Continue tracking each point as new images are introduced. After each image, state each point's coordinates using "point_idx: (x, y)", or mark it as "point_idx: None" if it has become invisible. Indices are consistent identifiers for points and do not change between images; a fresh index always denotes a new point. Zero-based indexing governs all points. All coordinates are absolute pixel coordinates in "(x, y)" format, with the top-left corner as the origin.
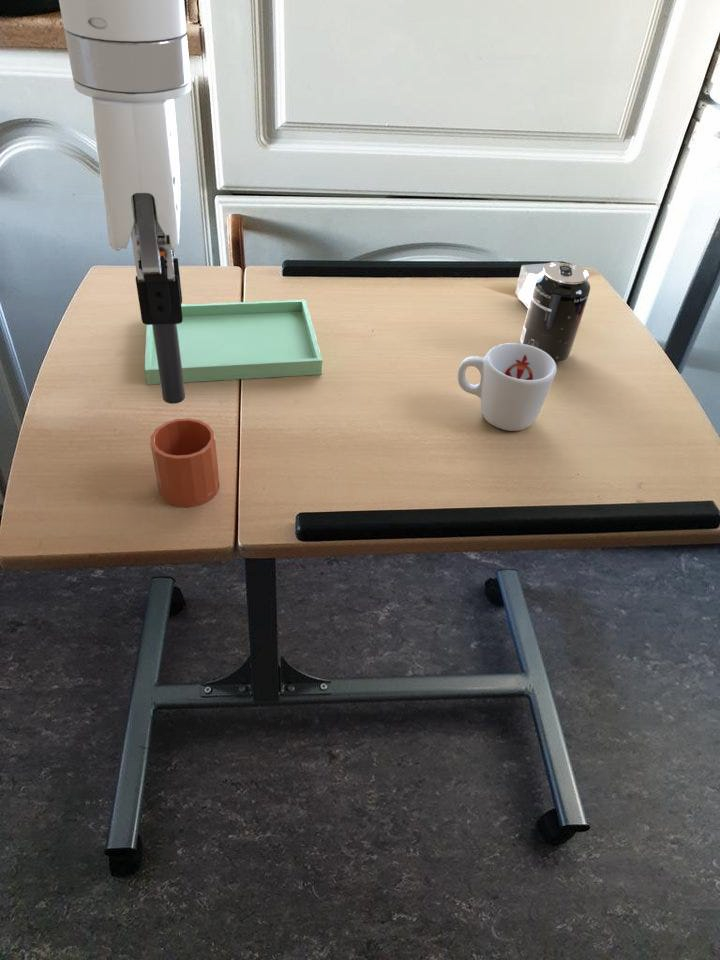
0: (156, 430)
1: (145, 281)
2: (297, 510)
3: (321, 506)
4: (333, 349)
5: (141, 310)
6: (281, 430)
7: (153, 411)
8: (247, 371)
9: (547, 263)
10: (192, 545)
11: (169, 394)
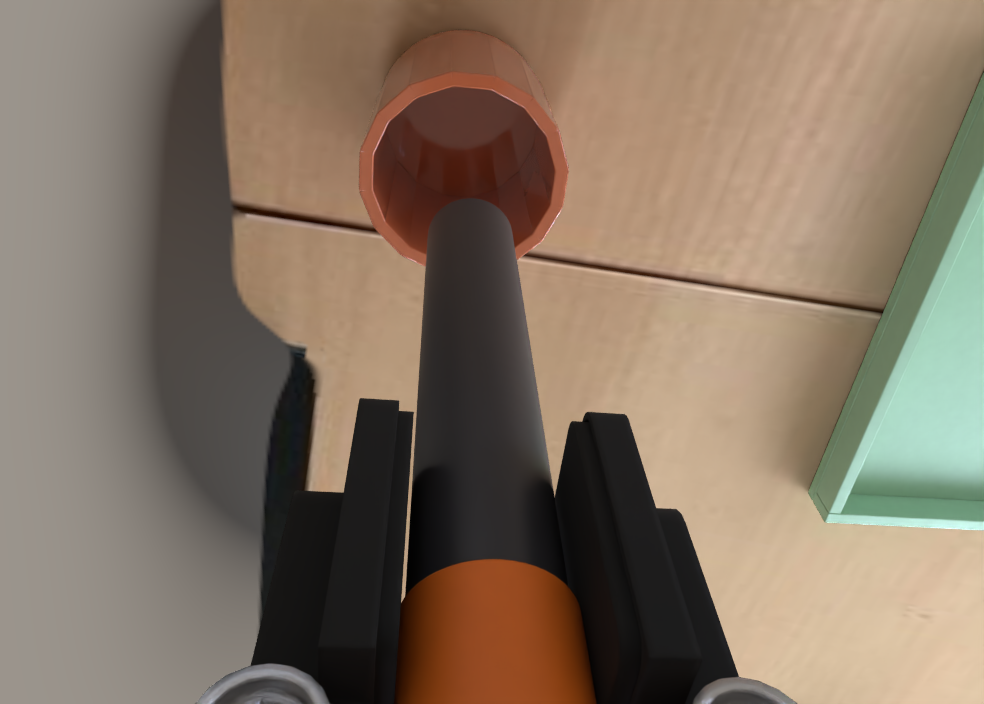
0: (519, 98)
1: (317, 678)
2: (327, 354)
3: (333, 402)
4: (896, 532)
5: (351, 456)
6: (624, 371)
7: (845, 45)
8: (886, 344)
9: None
10: (231, 99)
11: (430, 241)
